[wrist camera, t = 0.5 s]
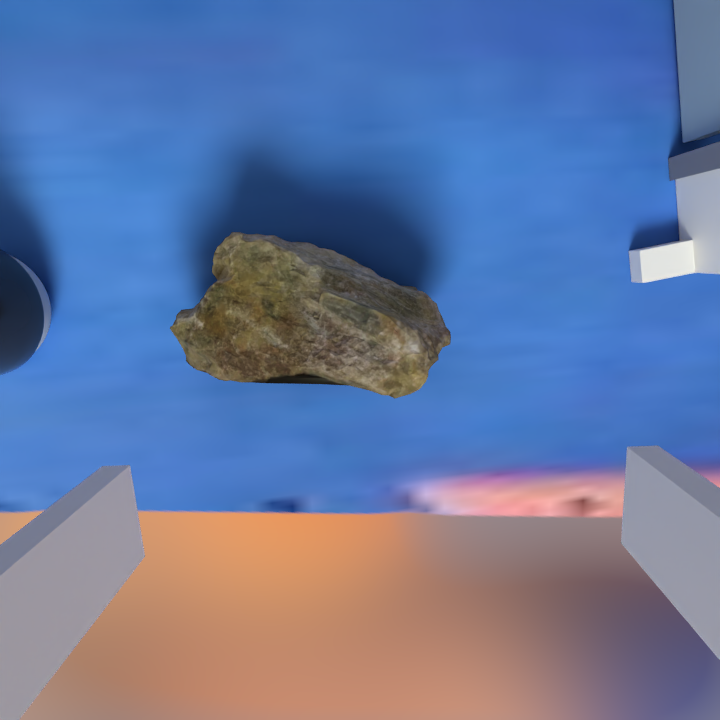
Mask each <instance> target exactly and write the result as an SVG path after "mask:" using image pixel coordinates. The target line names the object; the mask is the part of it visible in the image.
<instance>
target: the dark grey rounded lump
mask: <svg viewBox="0 0 720 720" xmlns="http://www.w3.org/2000/svg"><path fill="white" fill-rule="evenodd" d="M50 323H51V305H50V300H49V297H48V294H47V291H46V289H45V287H44V286H43V284H42V282H41V281H40V279H39V278H38V277H37V275H36V274H35V273H34V272H33V271H32V270H31V269H30V268H29V267H28V266H26V265H25V264H24V263H22V262H21V261H20V260H18V259H17V258H15V257H13V256H11V255H9V254H7V253H6V252H4V251H2V250H1V249H0V375H3V374H6V373H9V372H11V371H13V370H15V369H17V368H19V367H20V366H22V365H23V364H24V363H26V362H27V361H28V360H29V359H30V358H31V356H32V355H33V354H34V352H35V351H36V350H37V349H38V348H39V347H40V345H41V344H42V342H43V341H44V339H45V337H46V335H47V333H48V330H49V327H50Z"/></svg>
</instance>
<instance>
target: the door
mask: <svg viewBox="0 0 720 720" xmlns="http://www.w3.org/2000/svg"><path fill="white" fill-rule="evenodd" d="M674 15H675V30H676V46H677V61H678V76H679V92H680V107H681V122H682V138H683V143H686V142H690V141H695V140H699V139H704V138H708V137H710V136H713V135H716V134H719V133H720V0H674Z"/></svg>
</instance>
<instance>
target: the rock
mask: <svg viewBox="0 0 720 720" xmlns="http://www.w3.org/2000/svg"><path fill="white" fill-rule="evenodd" d="M213 264H214V265H213V266H212V273H213V274H214V276H215V277H216V279H217V280H218V281H216V282H215V283H214V284H213V285H212V286H210V287H209V288H208V290H207V292H206V294H205V295H204V297H203V298H202V299H201V301H200V303H198V304H197V305H196V306H195V308H193V309H185V310H181V311H180V312H179V313H178V314H177V316H176V320H175V322H174V324H173V326H171V327H170V329H171V331H172V332H173V334H174V335H175V336H176V338H177V339H178V341H179V343H180V344H181V346H182V348H183V350H184V352H185V354H186V361H187V362H188V363H189V364H190V365H191V366H192V367H193V368H196V369H197V370H200V371H203V372H206V373H209V374H210V375H211V376H213V377H215V378H217V379H219V380H224V381H228V380H232V381H238V382H255V383H295V384H331V385H350V386H354V387H358V388H362V389H366V390H370V391H373V392H376V393H378V394H381V395H389V396H391V397H393V398H398V397H401V396H404V395H408V394H411V393H413V392H415V391H417V390H419V389H420V388H421V387H422V386H423V384H424V383H425V382H426V379H427V377H428V370H429V369H430V367H431V366H432V365H433V364H434V363H435V362H436V361H437V360H438V354H439V352H440V351H441V349H442V347H445V346H447V345H449V344H450V339H451V336H450V331H449V330H448V329H447V327H446V326H445V323H444V321H443V318H442V316H441V314H440V312H439V310H438V307H437V304H436V303H435V302H434V301H433V300H431V298H430V297H429V296H428V295H427V294H426V293H424V292H423V291H418V290H417V288H416V287H412V286H399V285H398V284H396V283H395V282H393V281H391V280H389V279H385V278H383V277H380V276H378V275H377V274H376V273H375V272H374V271H373V270H371V269H370V268H367V267H364V266H362V265H360V264H359V263H357V262H356V261H354V260H352V259H350V258H347V257H346V256H344V255H340V254H338V253H337V252H335V251H334V250H330V249H325V248H318V247H317V246H316V245H313V244H311V243H307V242H289V241H285V240H283V239H281V238H279V237H277V236H274V235H270V236H266V235H261V234H252V235H250V234H244V233H240V232H232V233H231V234H230V236H228V237H226V238H225V239H224V241H223V242H222V243H221V244H220V245H219V246H218V247H217V249H216V251H215V253H214V257H213Z"/></svg>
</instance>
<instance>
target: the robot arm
mask: <svg viewBox="0 0 720 720" xmlns="http://www.w3.org/2000/svg"><path fill="white" fill-rule="evenodd" d="M621 543H622V545H623V546H624V547H625V548H626V549H627V551H628V552H629V553H630V554H631V555H632V556H633V558H634V559H635V560H636V561H637V562H638V563H639V565H640V566H641V567H642V568H643V570H644V571H645V572H646V573H647V574H648V575H649V576H650V578H651V579H652V580H653V581H654V582H655V584H656V585H657V586H658V587H659V588H660V589H661V591H662V592H663V593H664V594H665V596H666V597H667V598H668V599H669V600H670V602H671V603H672V604H673V605H674V606H675V607H676V609H677V610H678V611H679V612H680V613H681V614H682V616H683V617H684V618H685V619H686V620H687V622H688V623H689V624H690V625H691V626H692V628H693V629H694V630H695V631H696V632H697V633H698V635H699V636H700V637H701V638H702V639H703V640H704V642H705V643H706V644H707V645H708V646H709V648H710V649H711V650H712V651H713V652H714V654H715V655H716V656H717V657H718V658H719V660H720V488H719V487H717V486H716V485H714V484H713V483H712V482H710V481H709V480H707V479H706V478H704V477H703V476H701V475H700V474H698V473H697V472H695V471H694V470H692V469H691V468H690V467H688V466H687V465H685V464H684V463H682V462H681V461H679V460H678V459H676V458H675V457H673V456H672V455H671V454H669V453H668V452H666V451H665V450H663V449H662V448H660V447H659V446H638V447H627V458H626V474H625V489H624V505H623V520H622V537H621ZM144 557H145V555H144V548H143V542H142V536H141V531H140V524H139V518H138V512H137V505H136V499H135V493H134V487H133V481H132V475H131V469H130V465H124V466H102V467H101V468H99V469H98V470H97V471H96V472H94V473H93V474H92V475H90V476H89V477H88V478H86V479H85V480H84V481H83V482H81V483H80V484H79V485H77V486H76V487H75V488H73V489H72V490H71V491H70V492H68V493H67V494H66V495H64V496H63V497H62V498H60V499H59V500H58V501H57V502H55V503H54V504H53V505H51V506H50V507H49V508H48V509H46V510H45V511H44V512H42V513H41V514H40V515H38V516H37V517H36V518H35V519H33V520H32V521H31V522H30V523H28V524H27V525H25V526H24V527H23V528H22V529H20V530H19V531H18V532H16V533H15V534H14V535H12V536H11V537H10V538H9V539H7V540H6V541H5V542H3V543H2V544H1V545H0V720H19V719H20V718H21V716H22V715H23V714H24V713H25V712H26V710H27V709H28V708H29V706H30V705H31V704H32V702H33V701H34V700H35V698H36V697H37V696H38V695H39V693H40V692H41V691H42V689H43V688H44V687H45V686H46V684H47V683H48V682H49V680H50V679H51V678H52V676H53V675H54V674H55V673H56V671H57V670H58V669H59V667H60V666H61V665H62V663H63V662H64V661H65V660H66V658H67V657H68V656H69V654H70V653H71V652H72V650H73V649H74V648H75V647H76V645H77V644H78V643H79V641H80V640H81V639H82V637H83V636H84V635H85V634H86V632H87V631H88V630H89V628H90V627H91V625H92V624H93V623H94V622H95V621H96V619H97V618H98V617H99V615H100V614H101V613H102V611H103V610H104V609H105V607H106V606H107V605H108V604H109V602H110V601H111V600H112V598H113V597H114V596H115V595H116V593H117V592H118V591H119V589H120V588H121V587H122V585H123V584H124V583H125V582H126V580H127V579H128V578H129V576H130V575H131V574H132V572H133V571H134V570H135V569H136V567H137V566H138V565H139V563H140V562H141V561H142V559H143V558H144Z"/></svg>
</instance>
